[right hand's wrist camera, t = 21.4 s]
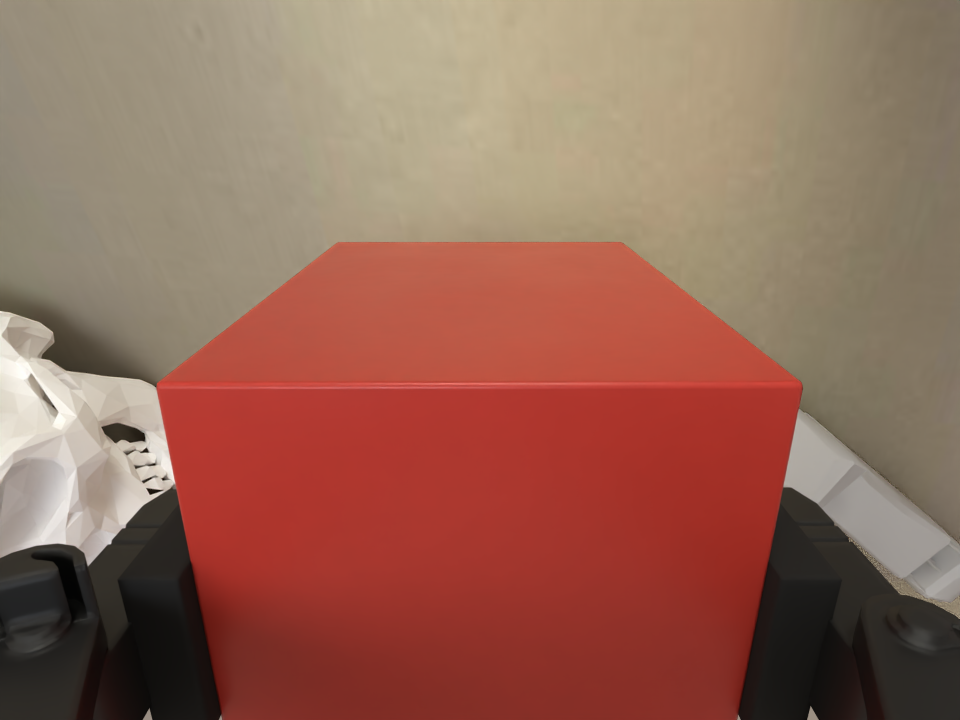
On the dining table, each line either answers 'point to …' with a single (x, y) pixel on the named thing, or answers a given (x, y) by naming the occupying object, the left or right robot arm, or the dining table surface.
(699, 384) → the red block
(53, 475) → the skull
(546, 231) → the dining table surface
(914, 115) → the dining table surface
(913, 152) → the dining table surface
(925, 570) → the clamp
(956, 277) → the dining table surface
